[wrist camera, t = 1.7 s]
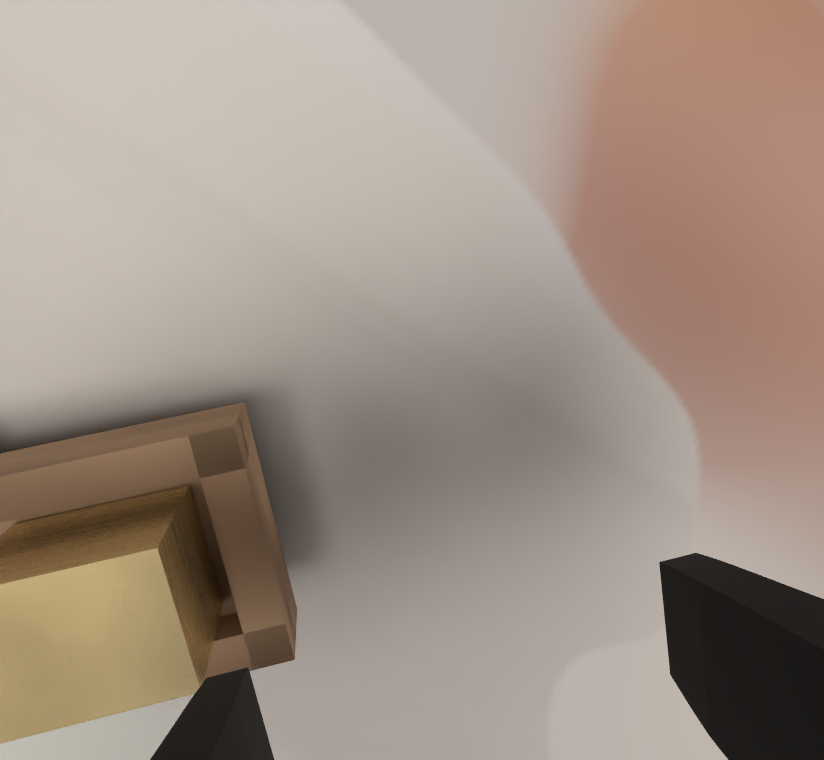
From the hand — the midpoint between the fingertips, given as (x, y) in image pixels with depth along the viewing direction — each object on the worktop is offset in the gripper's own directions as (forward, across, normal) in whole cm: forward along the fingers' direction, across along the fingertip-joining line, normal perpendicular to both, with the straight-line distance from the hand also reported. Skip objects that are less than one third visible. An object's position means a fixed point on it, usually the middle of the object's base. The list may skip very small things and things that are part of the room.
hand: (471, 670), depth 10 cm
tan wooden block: (+7, +7, 0) cm, 10 cm away
